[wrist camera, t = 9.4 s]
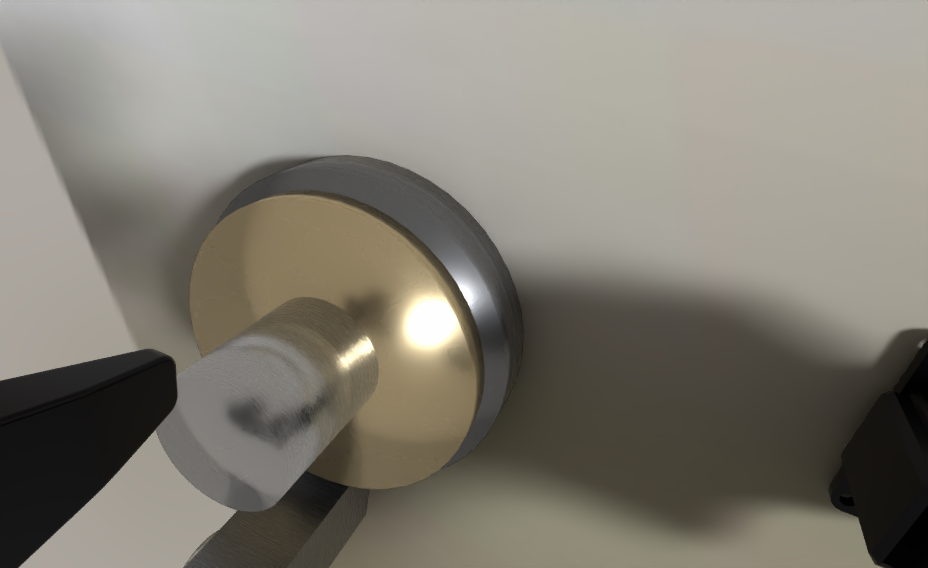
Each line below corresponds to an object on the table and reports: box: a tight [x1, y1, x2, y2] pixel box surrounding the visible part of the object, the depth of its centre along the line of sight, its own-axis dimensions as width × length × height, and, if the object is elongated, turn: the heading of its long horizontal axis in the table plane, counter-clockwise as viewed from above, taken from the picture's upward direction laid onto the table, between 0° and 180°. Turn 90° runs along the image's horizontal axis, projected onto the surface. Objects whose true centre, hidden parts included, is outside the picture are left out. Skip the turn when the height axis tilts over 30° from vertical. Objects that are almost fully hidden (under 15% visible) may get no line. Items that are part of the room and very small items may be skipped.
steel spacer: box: [156, 297, 379, 512], centre depth 18 cm, size 4×4×5 cm
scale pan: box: [190, 190, 485, 489], centre depth 21 cm, size 11×11×1 cm
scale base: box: [183, 156, 523, 568], centre depth 20 cm, size 12×17×9 cm
